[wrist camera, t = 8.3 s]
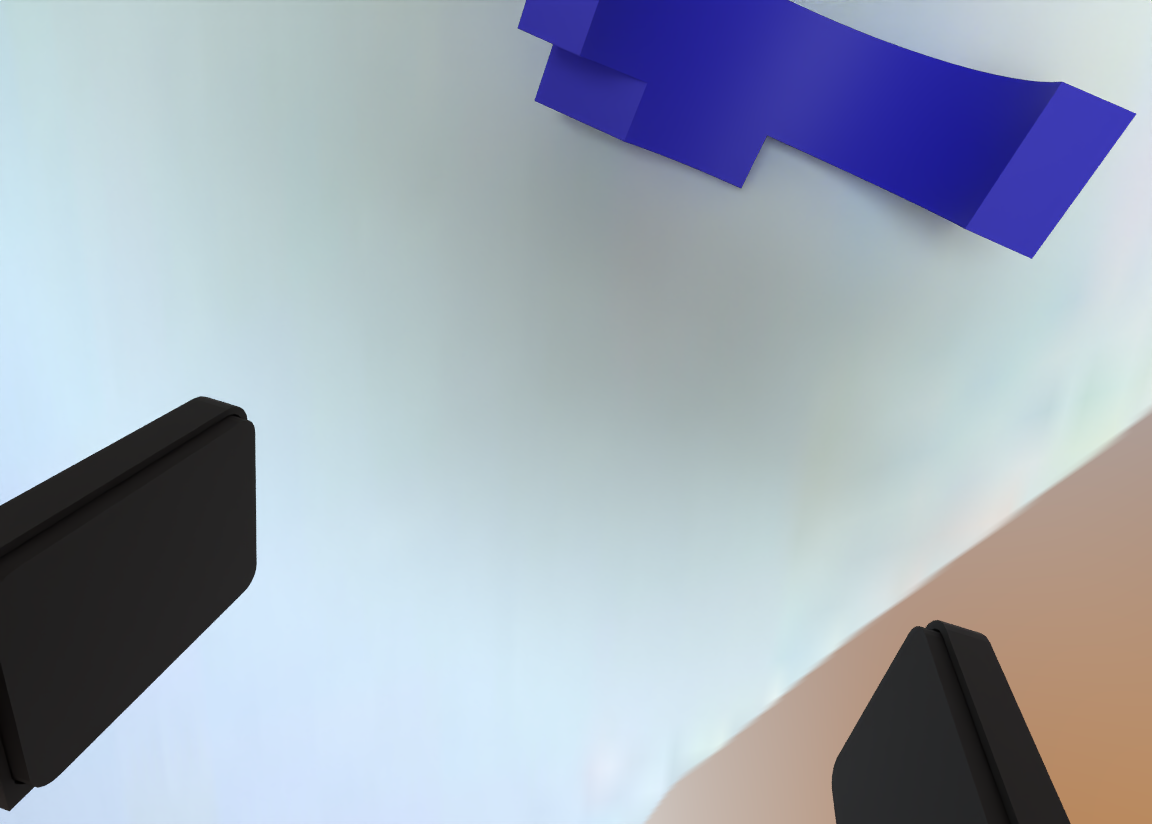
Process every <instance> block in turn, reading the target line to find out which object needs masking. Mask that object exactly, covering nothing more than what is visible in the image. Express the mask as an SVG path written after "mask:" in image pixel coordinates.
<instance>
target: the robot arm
mask: <svg viewBox="0 0 1152 824" xmlns="http://www.w3.org/2000/svg"><path fill="white" fill-rule="evenodd" d="M256 565H257V561H256V468H255V428H254V425H253V423H252V422H250V421H249V420H247V415H246V413H245V411H244V410H243V409H242V408H240V407H238V406H234V405H231V404H228V403H225V402H221V401H218V400H215V399H211V398H208V397H201V396H200V397H197V398H194V399H192V400H190V401H189V402H187V403H185V404H183V405H181V406H180V407H178V408H176V409H174V410H172V411H171V412H169V413H167V414H165V415H163V416H161V417H160V418H158V419H156V420H154V421H152V422H151V423H149V424H147V425H145V426H143V427H142V428H140V429H138V430H136V431H134V432H133V433H131V434H129V435H127V436H125V437H124V438H122V439H120V440H118V441H116V442H114V443H113V444H111V445H109V446H107V447H105V448H104V449H102V450H100V451H98V452H96V453H95V454H93V455H91V456H89V457H87V458H86V459H84V460H82V461H80V462H78V463H77V464H75V465H73V466H71V467H69V468H67V469H66V470H64V471H62V472H60V473H58V474H57V475H55V476H53V477H51V478H49V479H48V480H46V481H44V482H42V483H40V484H39V485H37V486H35V487H33V488H31V489H30V490H28V491H26V492H24V493H22V494H21V495H19V496H17V497H15V498H13V499H11V500H10V501H8V502H6V503H4V504H2V505H1V506H0V808H2V809H5V810H7V811H10V810H11V809H12V808H13V807H14V806H15V805H16V804H17V803H18V802H19V801H20V800H21V799H22V798H23V797H25V796H26V795H27V794H28V793H29V792H30V791H31V790H32V789H33V788H34V787H42V786H45V785H47V784H49V783H50V782H52V781H53V780H54V779H56V778H57V777H58V776H59V775H60V774H61V773H62V772H63V771H64V770H65V769H66V768H67V767H68V766H69V765H70V764H71V763H72V762H73V761H74V760H75V759H76V758H77V757H78V756H79V755H80V754H81V753H82V752H83V751H84V750H85V749H86V748H87V747H88V746H89V745H90V744H91V743H92V742H93V741H94V740H95V739H96V738H97V737H98V736H99V735H100V734H101V733H102V732H103V731H104V730H105V729H106V728H107V727H108V726H109V725H110V724H111V723H112V722H113V721H114V720H115V719H116V718H117V717H118V716H119V715H120V714H122V713H123V712H124V711H125V710H126V709H127V708H128V707H129V706H130V705H131V704H132V703H133V702H134V701H135V700H136V699H137V698H138V697H139V696H140V695H141V694H142V693H143V692H144V691H145V690H146V689H147V688H148V687H149V686H150V685H151V684H152V683H153V682H154V681H155V680H156V679H157V678H158V677H159V676H160V675H161V674H162V673H163V672H164V671H165V670H166V669H167V668H168V667H169V666H170V665H171V664H172V663H173V662H174V661H175V660H176V659H177V658H178V657H179V656H180V655H181V654H182V653H183V652H184V651H185V650H186V649H187V648H188V647H189V646H190V645H191V644H192V643H193V642H194V641H195V640H196V639H197V638H198V637H199V636H200V635H201V634H202V633H203V632H204V631H205V630H206V629H207V628H208V627H209V626H210V625H211V624H212V623H213V622H214V621H215V620H216V619H217V618H218V617H219V616H220V615H221V614H222V613H223V612H224V611H225V610H226V609H227V608H228V607H229V606H230V605H231V604H232V603H233V602H234V601H235V600H236V599H237V598H238V597H239V596H240V595H241V594H242V593H243V592H244V591H245V590H246V589H247V588H248V586H249V585H250V583H251V581H252V579H253V577H254V575H255V571H256ZM832 793H833V801H834V809H835V817H836V824H1070V821H1069V819H1068V817H1067V815H1066V813H1065V810H1064V809H1063V806H1062V803H1061V801H1060V799H1059V797H1058V795H1057V792H1056V790H1055V788H1054V786H1053V783H1052V781H1051V779H1050V776H1049V775H1048V772H1047V770H1046V767H1045V765H1044V763H1043V761H1042V758H1041V756H1040V754H1039V752H1038V750H1037V747H1036V745H1035V743H1034V741H1033V738H1032V736H1031V734H1030V732H1029V729H1028V727H1027V725H1026V723H1025V720H1024V718H1023V716H1022V714H1021V711H1020V709H1019V707H1018V705H1017V703H1016V700H1015V698H1014V696H1013V693H1012V691H1011V689H1010V687H1009V684H1008V682H1007V680H1006V678H1005V675H1004V673H1003V671H1002V669H1001V666H1000V664H999V662H998V660H997V657H996V655H995V653H994V651H993V649H992V646H991V644H990V642H989V640H988V639H987V637H986V636H984V635H983V634H981V633H978V632H975V631H972V630H968V629H965V628H962V627H959V626H956V625H952V624H949V623H946V622H942V621H939V620H935V621H932V622H931V623H929V624H928V625H927V627H926V628H923V627H920V626H916V627H915V628H913V629H912V630H911V631H910V633H909V634H908V636H907V638H906V639H905V641H904V643H903V645H902V646H901V648H900V650H899V651H898V653H897V655H896V657H895V658H894V660H893V662H892V664H891V665H890V667H889V669H888V671H887V672H886V674H885V676H884V678H883V679H882V681H881V683H880V684H879V686H878V688H877V690H876V691H875V693H874V695H873V696H872V698H871V700H870V702H869V703H868V705H867V707H866V709H865V710H864V712H863V714H862V715H861V717H860V719H859V721H858V722H857V724H856V726H855V728H854V729H853V731H852V733H851V735H850V736H849V738H848V740H847V742H846V743H845V745H844V747H843V749H842V750H841V752H840V754H839V755H838V757H837V759H836V762H835V765H834V768H833V774H832Z"/></svg>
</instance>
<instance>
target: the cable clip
mask: <svg viewBox="0 0 1152 824" xmlns="http://www.w3.org/2000/svg"><path fill="white" fill-rule="evenodd" d="M518 29H520V30H523V31H525V32H527V33H529V34H532V35H534V36H536V37H538V38H541V39H543V40H545V41H547V42H549V43H552V44H553V46H552V49H551V52H550V55H549V59H548V62H547V65H546V68H545V71H544V74H543V77H542V80H541V83H540V86H539V89H538V92H537V95H536V98H535V101H536V102H538V103H541V104H543V105H545V106H547V107H549V108H552V109H554V110H556V111H558V112H560V113H563V114H565V115H567V116H569V117H571V118H574V119H576V120H578V121H580V122H582V123H585V124H587V125H589V126H591V127H593V128H596V129H598V130H600V131H602V132H604V133H607V134H609V135H611V136H613V137H615V138H618V139H620V140H622V141H624V142H627V143H630V144H633V145H636V146H639V147H641V148H644V149H647V150H650V151H652V152H655V153H658V154H660V155H663V156H665V157H668V158H670V159H673V160H675V161H678V162H680V163H683V164H685V165H688V166H690V167H693V168H695V169H698V170H700V171H702V172H705V173H707V174H709V175H712V176H714V177H716V178H719V179H721V180H723V181H725V182H728V183H730V184H732V185H734V186H737V187H739V188H742V186H743V184H744V181H745V179H746V177H747V175H748V173H749V171H750V169H751V167H752V165H753V163H754V161H755V159H756V157H757V155H758V153H759V151H760V149H761V147H762V145H763V143H764V141H765V139H766V137H767V136H769V137H772V138H774V139H776V140H778V141H781V142H783V143H785V144H787V145H789V146H792V147H794V148H796V149H798V150H800V151H803V152H805V153H807V154H809V155H811V156H814V157H816V158H818V159H820V160H822V161H825V162H827V163H829V164H831V165H833V166H836V167H838V168H840V169H842V170H844V171H846V172H849V173H851V174H853V175H855V176H857V177H859V178H862V179H864V180H866V181H868V182H870V183H872V184H874V185H877V186H879V187H881V188H883V189H885V190H887V191H889V192H891V193H894V194H896V195H898V196H900V197H902V198H904V199H906V200H908V201H910V202H912V203H915V204H917V205H919V206H921V207H923V208H925V209H927V210H929V211H931V212H933V213H935V214H937V215H939V216H941V217H943V218H945V219H947V220H949V221H951V222H953V223H955V224H957V225H959V226H961V227H963V228H964V229H967V230H969V231H971V232H973V233H975V234H978V235H980V236H982V237H984V238H987V239H989V240H991V241H993V242H996V243H998V244H1000V245H1002V246H1004V247H1007V248H1009V249H1011V250H1013V251H1016V252H1018V253H1020V254H1022V255H1025V256H1027V257H1029V258H1031V259H1032V258H1033V257H1034V255H1035V254H1036V252H1037V251H1038V250H1039V248H1040V247H1041V245H1042V244H1043V243H1044V241H1045V240H1046V238H1047V237H1048V236H1049V234H1050V233H1051V232H1052V230H1053V229H1054V227H1055V226H1056V225H1057V223H1058V222H1059V220H1060V219H1061V218H1062V216H1063V215H1064V214H1065V212H1066V211H1067V209H1068V208H1069V207H1070V205H1071V204H1072V202H1073V201H1074V200H1075V198H1076V197H1077V196H1078V194H1079V193H1080V191H1081V190H1082V189H1083V187H1084V186H1085V184H1086V183H1087V182H1088V180H1089V179H1090V178H1091V176H1092V175H1093V173H1094V172H1095V171H1096V169H1097V168H1098V166H1099V165H1100V164H1101V162H1102V161H1103V160H1104V158H1105V157H1106V155H1107V154H1108V153H1109V151H1110V150H1111V148H1112V147H1113V146H1114V144H1115V143H1116V141H1117V140H1118V139H1119V137H1120V136H1121V135H1122V133H1123V132H1124V130H1125V129H1126V128H1127V126H1128V125H1129V123H1130V122H1131V121H1132V119H1133V118H1134V117H1135V115H1136V113H1133V112H1131V111H1129V110H1126V109H1124V108H1122V107H1119V106H1117V105H1115V104H1112V103H1110V102H1108V101H1106V100H1103V99H1101V98H1099V97H1096V96H1094V95H1092V94H1089V93H1087V92H1085V91H1082V90H1080V89H1078V88H1075V87H1073V86H1071V85H1069V84H1066V83H1064V82H1037V81H1028V80H1021V79H1015V78H1009V77H1004V76H999V75H994V74H990V73H986V72H981V71H977V70H973V69H970V68H966V67H962V66H959V65H955V64H952V63H948V62H945V61H942V60H938V59H935V58H932V57H929V56H926V55H923V54H920V53H917V52H914V51H911V50H908V49H905V48H902V47H899V46H897V45H894V44H891V43H888V42H886V41H883V40H880V39H878V38H875V37H872V36H870V35H867V34H865V33H862V32H860V31H857V30H855V29H852V28H850V27H847V26H845V25H843V24H840V23H838V22H835V21H833V20H831V19H828V18H826V17H824V16H822V15H819V14H817V13H815V12H813V11H810V10H808V9H806V8H804V7H802V6H799V5H797V4H795V3H793V2H791V1H789V0H526V3H525V6H524V9H523V13H522V16H521V19H520V22H519V26H518Z"/></svg>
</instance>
